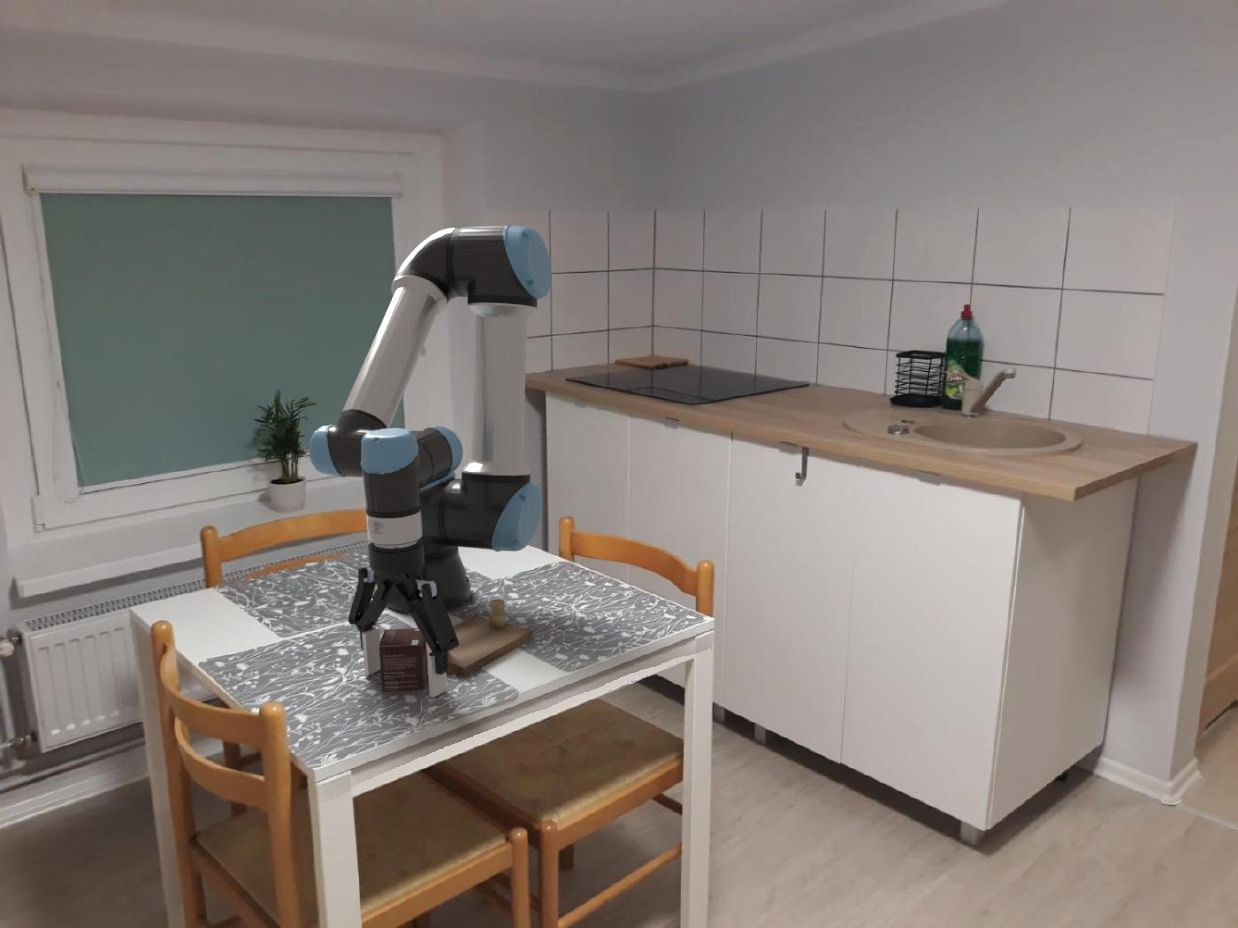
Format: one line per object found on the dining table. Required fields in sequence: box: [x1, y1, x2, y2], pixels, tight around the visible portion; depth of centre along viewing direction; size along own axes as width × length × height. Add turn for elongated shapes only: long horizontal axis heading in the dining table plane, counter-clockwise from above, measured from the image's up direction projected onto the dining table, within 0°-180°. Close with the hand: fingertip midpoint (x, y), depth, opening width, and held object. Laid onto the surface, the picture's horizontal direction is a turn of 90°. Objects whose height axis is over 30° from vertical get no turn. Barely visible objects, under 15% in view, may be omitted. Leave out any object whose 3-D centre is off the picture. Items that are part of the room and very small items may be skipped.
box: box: [379, 627, 429, 694], centre depth 141 cm, size 6×6×7 cm
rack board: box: [426, 598, 534, 678], centre depth 153 cm, size 12×16×6 cm
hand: (405, 682), depth 142 cm, fingers open, 12 cm apart
